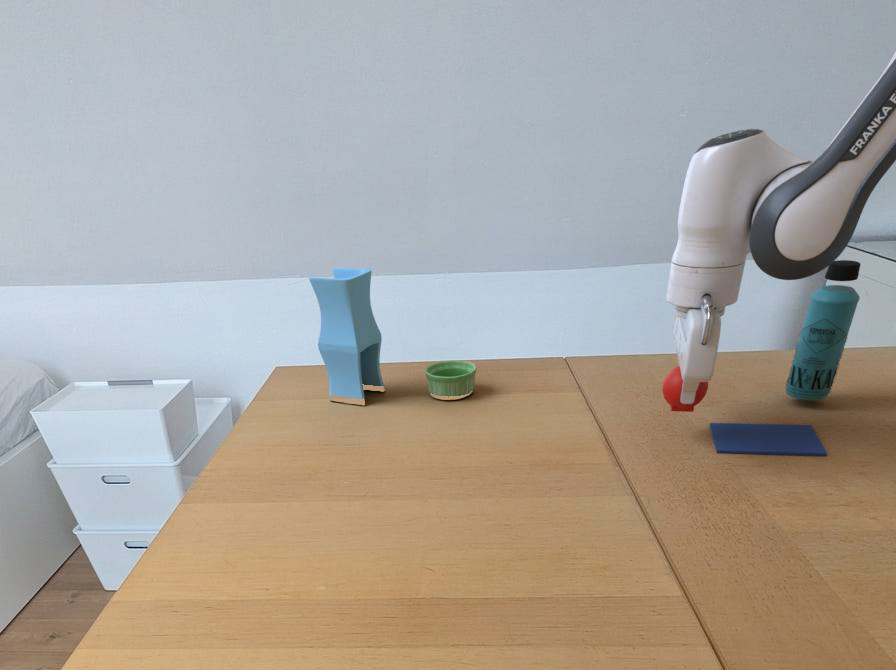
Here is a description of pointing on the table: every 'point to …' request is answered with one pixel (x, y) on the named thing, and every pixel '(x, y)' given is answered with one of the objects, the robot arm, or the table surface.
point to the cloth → (766, 439)
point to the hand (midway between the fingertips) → (684, 392)
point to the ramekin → (451, 378)
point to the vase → (348, 332)
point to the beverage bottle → (824, 334)
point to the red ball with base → (673, 391)
